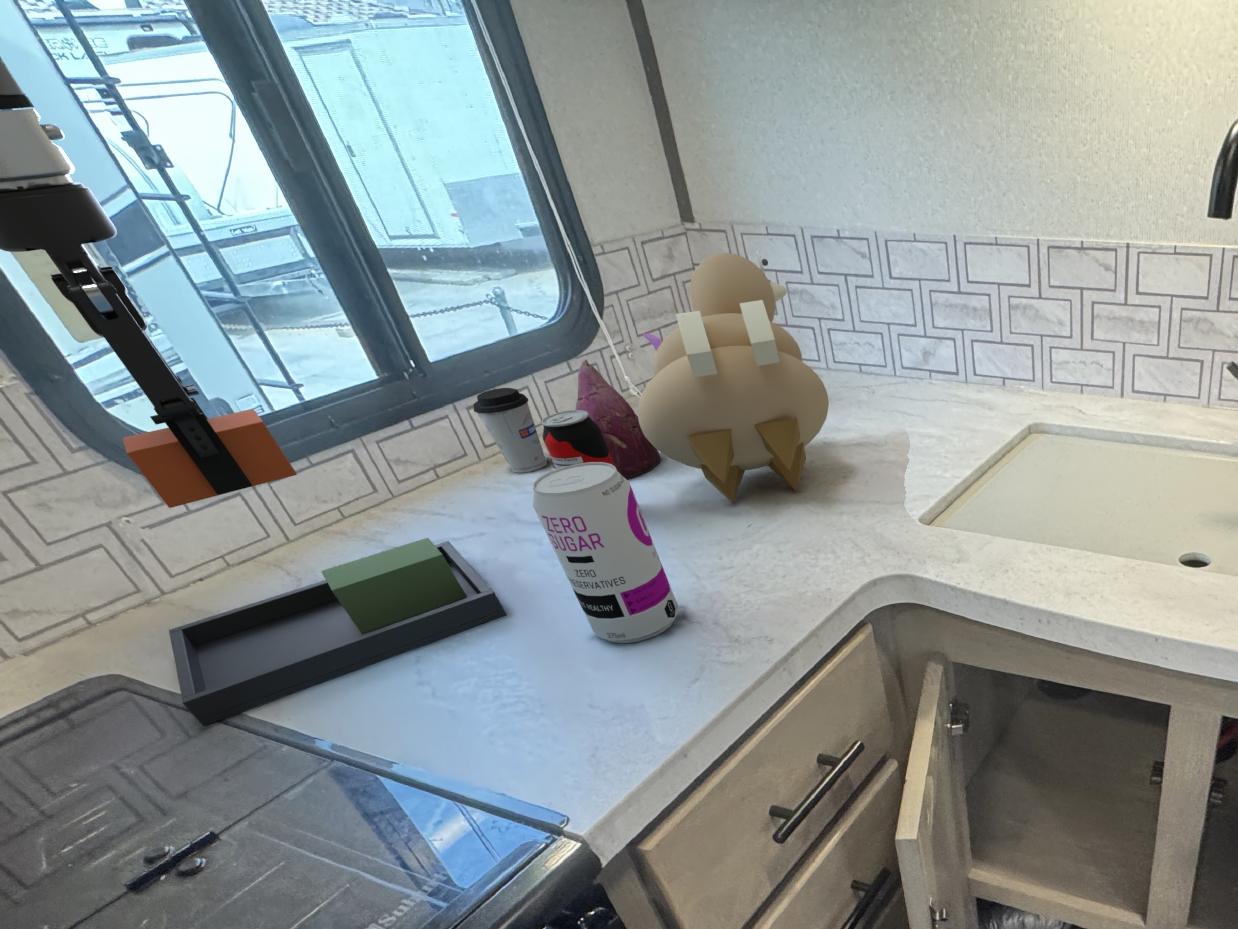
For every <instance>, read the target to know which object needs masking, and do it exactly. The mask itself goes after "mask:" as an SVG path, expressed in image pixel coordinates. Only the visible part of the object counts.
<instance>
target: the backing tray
mask: <svg viewBox="0 0 1238 929" xmlns="http://www.w3.org/2000/svg"><path fill="white" fill-rule="evenodd" d="M434 545H435V546H436V547H437V549H438V550H439V551H440V552H441V553H442V555H443V556H444V558H445V560H446V561H447V563H448V565H449V567H450V568H451V570H452V572H453V573H454V575H455V577H456V579H457V580H458V582H459V584H460V586H461V587H462V589H463V591H464V593H465V594H466V596H467V597H466V598H464V599H461V600H458V601H455V602H452V603H449V604H447V605H444V606H441V607H438V608H435V609H432V610H429V611H427V612H424V613H421V614H418V615H415V616H412V617H410V618H407V619H404V620H401V621H398V622H395V623H393V624H390V625H387V626H384V627H381V628H378V629H376V630H373V631H370V632H367V633H364V634H362V633H361V632H360V631H359V629H358V628H357V626H356V625H355V623H354V622H353V621H352V619H351V618H350V616H349V615H348V613H347V612H346V610H345V609H344V608H343V606H342V605H341V603H340V602H339V600H338V599H337V597H336V596H335V595H334V593H333V592H332V590H331V588H330V587H329V585H328V583H327V581H326V579H324V580H320V581H318V582H315V583H312V584H308V585H306V586H302V587H299V588H296V589H293V590H290V591H286V592H284V593H280V594H277V595H274V596H271V597H267V598H264V599H261V600H258V601H255V602H251V603H249V604H245V605H243V606H240V607H236V608H233V609H230V610H227V611H224V612H221V613H218V614H215V615H211V616H208V617H205V618H202V619H199V620H195V621H193V622H189V623H186V624H182V625H180V626H176V627H173V628H171V629H168V633H169V638H170V643H171V648H172V653H173V659H174V664H175V669H176V670H175V671H176V674H177V679H178V680H177V681H178V685H179V691H180V696H181V703H182V704H183V706H184V707H185V708H186V709H187V710H188V711H189V713H191V714H192V715H193V716H194V717H195V719H196V720H197V721H198V722H199V723H200V724H201V725H202V726H203V727H205V726H209V725H211V724H213V723H216V722H219V721H221V720H225V719H227V718H231V717H233V716H236V715H239V714H241V713H243V712H247V711H249V710H252V709H255V708H256V707H260V706H262V705H265V704H268V703H270V702H273V701H276V700H278V699H281V698H284V697H287V696H290V695H293V694H295V693H298V692H300V691H303V690H305V689H308V688H312V687H314V686H317V685H320V684H322V683H325V682H328V681H331V680H333V679H335V678H338V677H341V676H344V675H346V674H348V673H351V672H354V671H357V670H361V669H362V668H365V667H368V666H371V665H373V664H376V663H378V662H382V661H384V660H387V659H390V658H392V657H396V656H397V655H400V654H403V653H407V652H409V651H411V650H414V649H418V648H419V647H423V646H425V645H427V644H431V643H433V642H436V641H438V640H439V641H440V640H441V639H444V638H446V637H450V636H452V635H455V634H457V633H460V632H463V631H466V630H468V629H471V628H473V627H476V626H479V625H482V624H484V623H487V622H490V621H493V620H495V619H498V618H501V617H504V616H506V615H507V612H506V611H505V609H504V607H503V605H502V604H501V602H500V600H499V598H498V597H497V595H496V592H495V591H494V590H493V589H492V587H490V586H489V584H488V583H487V582H486V581H485V580H484V579H483V577H481V575H479V573H478V572H477V571H476V570H475V569H474V568H473V567H472V565H470V563H469V562H468V561H467V560H466V559H465V558H464V556H463V555H462V554H461V553H460V552H459V551H458V550H457V549H456V547H455V546H453V545H452V543H451V542H450V541H449V540H447V541H443V542H441V543H437V544H434Z"/></svg>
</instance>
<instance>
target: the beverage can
mask: <svg viewBox="0 0 1238 929" xmlns="http://www.w3.org/2000/svg"><path fill="white" fill-rule="evenodd" d="M541 425H542V426H543V430H542V440H543V442H544V445H545V447H546V449H547V452H548V454H549V456H550V458H551V461H552V464H553V466H554V467H555V470H556V469H559V468H562V467H566V466H570V465H574V464H580V463H588V462H603V463H608V464H612V465H613V466H615V465H614V462H613V460H612V457H611V455H610V452H609V450H608V447H607V445H606V442H605V440H604V437H603V435H602V432H601V430H600V427H599V426H598V425H597V424H596V423H595V422H594V421H593V420H592V419H591V418H590V417H589V414H588V412H586V411H583V410H575V409H571V410H570V409H569V410H564V411H559V412H555V413H552V414H550V415H547V416H546V417H544V418H543V419H541Z"/></svg>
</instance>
